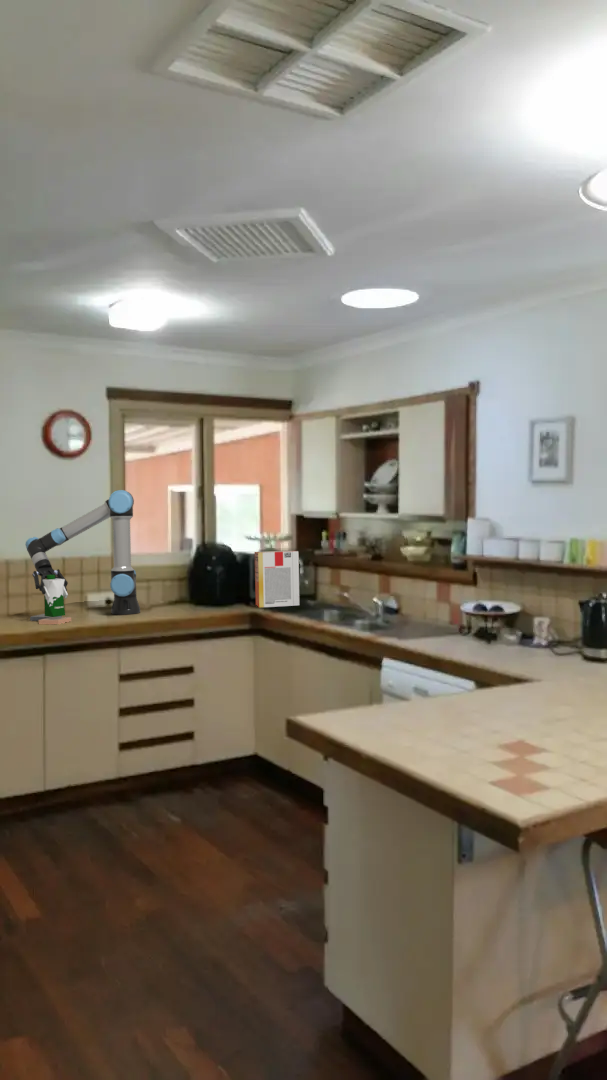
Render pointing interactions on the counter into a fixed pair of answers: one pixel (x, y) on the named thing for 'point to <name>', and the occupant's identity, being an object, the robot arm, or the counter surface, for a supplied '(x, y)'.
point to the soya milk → (54, 596)
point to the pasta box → (277, 578)
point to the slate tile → (39, 617)
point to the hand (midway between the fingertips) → (57, 597)
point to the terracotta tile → (55, 620)
